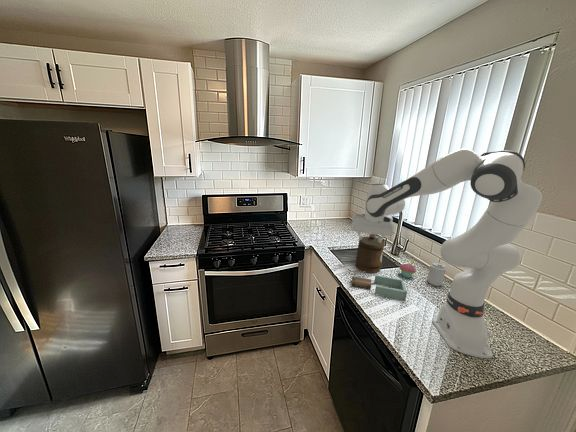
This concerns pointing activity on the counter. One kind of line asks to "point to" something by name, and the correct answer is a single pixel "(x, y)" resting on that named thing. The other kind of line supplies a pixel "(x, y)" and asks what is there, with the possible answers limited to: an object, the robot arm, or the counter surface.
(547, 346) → the counter surface
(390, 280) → the tray
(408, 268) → the cupcake
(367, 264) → the wooden container
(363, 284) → the brown block
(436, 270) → the grey lidded jar
